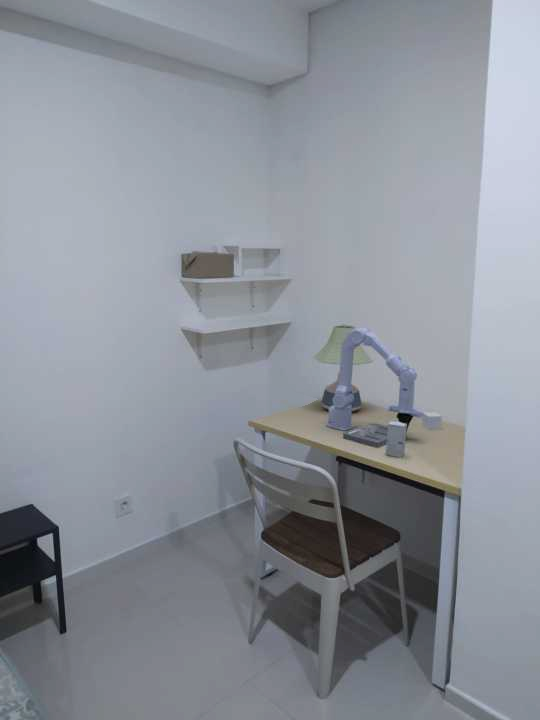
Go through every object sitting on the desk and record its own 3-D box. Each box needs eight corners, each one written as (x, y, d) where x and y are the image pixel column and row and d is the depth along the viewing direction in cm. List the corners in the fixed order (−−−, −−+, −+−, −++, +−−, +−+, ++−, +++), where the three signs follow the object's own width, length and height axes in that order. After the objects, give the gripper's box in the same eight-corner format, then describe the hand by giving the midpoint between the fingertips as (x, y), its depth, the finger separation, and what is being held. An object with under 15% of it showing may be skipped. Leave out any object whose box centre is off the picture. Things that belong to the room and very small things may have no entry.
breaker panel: (343, 438, 222) (343, 425, 221) (373, 427, 238) (373, 415, 237) (377, 447, 212) (378, 434, 211) (406, 435, 227) (407, 422, 226)
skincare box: (385, 455, 204) (387, 423, 202) (389, 451, 207) (390, 420, 205) (401, 458, 201) (403, 426, 199) (405, 454, 204) (407, 423, 202)
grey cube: (427, 430, 236) (428, 416, 235) (422, 426, 242) (422, 412, 241) (441, 429, 237) (442, 416, 236) (435, 425, 242) (436, 412, 241)
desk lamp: (301, 408, 266) (303, 323, 259) (340, 399, 285) (343, 319, 278) (342, 420, 248) (346, 328, 240) (380, 410, 266) (385, 324, 259)
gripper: (385, 397, 223) (383, 429, 225) (417, 403, 213) (415, 437, 216) (394, 394, 228) (392, 426, 230) (426, 400, 218) (424, 433, 221)
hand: (404, 431), depth 223 cm, fingers closed
